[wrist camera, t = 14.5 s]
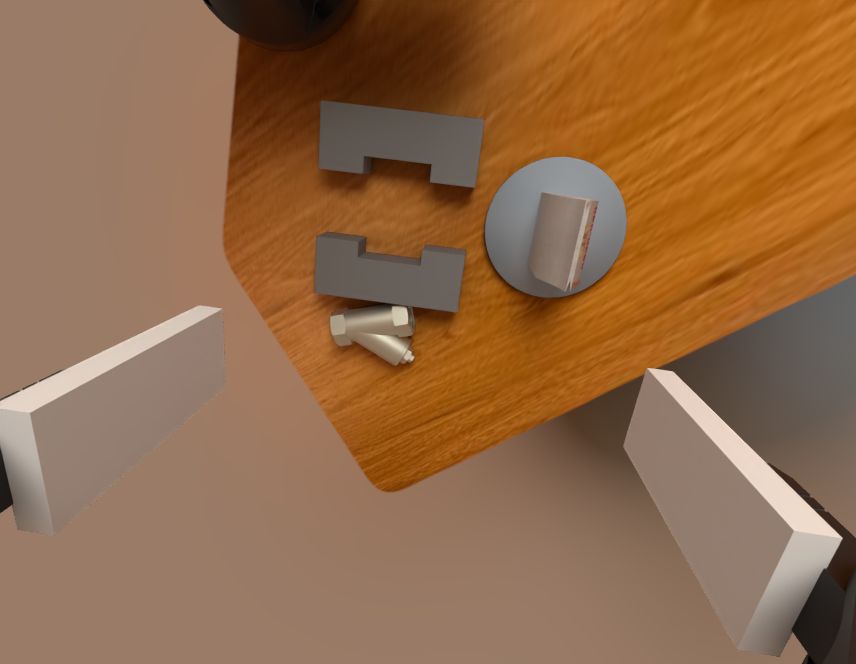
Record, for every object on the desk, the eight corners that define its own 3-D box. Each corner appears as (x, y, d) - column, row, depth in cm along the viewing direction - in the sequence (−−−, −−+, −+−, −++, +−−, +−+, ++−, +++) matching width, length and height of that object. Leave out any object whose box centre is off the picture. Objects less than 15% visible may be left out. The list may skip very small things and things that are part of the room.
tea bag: (527, 264, 44) (542, 288, 35) (541, 192, 42) (562, 196, 33) (565, 269, 44) (591, 295, 35) (581, 197, 42) (614, 204, 32)
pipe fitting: (422, 352, 50) (409, 294, 47) (419, 369, 46) (405, 307, 44) (352, 362, 51) (336, 306, 49) (344, 379, 48) (326, 320, 45)
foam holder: (332, 105, 42) (320, 100, 39) (483, 123, 41) (484, 119, 38) (325, 284, 48) (314, 293, 44) (458, 302, 47) (457, 312, 44)
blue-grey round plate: (496, 149, 42) (497, 148, 41) (639, 166, 41) (643, 165, 40) (475, 286, 46) (475, 288, 45) (604, 303, 46) (607, 305, 45)
